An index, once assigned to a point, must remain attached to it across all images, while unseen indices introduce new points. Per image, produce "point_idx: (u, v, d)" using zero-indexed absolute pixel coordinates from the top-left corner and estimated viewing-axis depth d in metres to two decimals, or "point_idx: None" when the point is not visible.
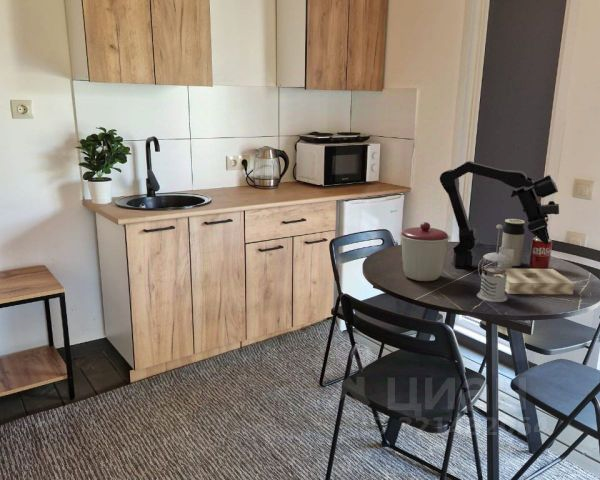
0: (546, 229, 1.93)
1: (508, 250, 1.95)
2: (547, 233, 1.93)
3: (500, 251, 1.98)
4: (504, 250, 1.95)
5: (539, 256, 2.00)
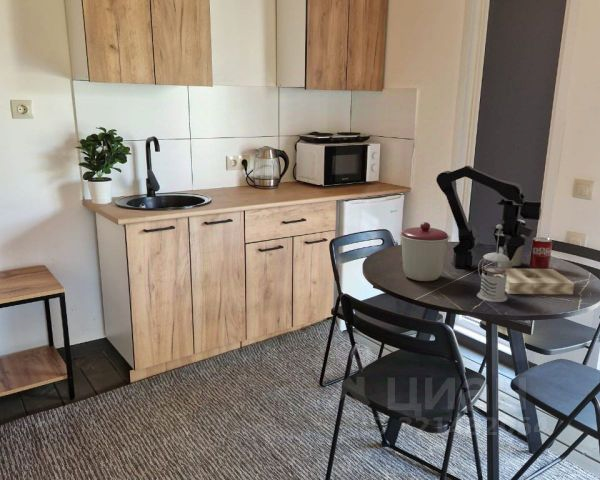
0: (504, 244, 2.01)
1: None
2: None
3: (500, 251, 1.98)
4: (504, 250, 1.95)
5: (539, 256, 2.00)
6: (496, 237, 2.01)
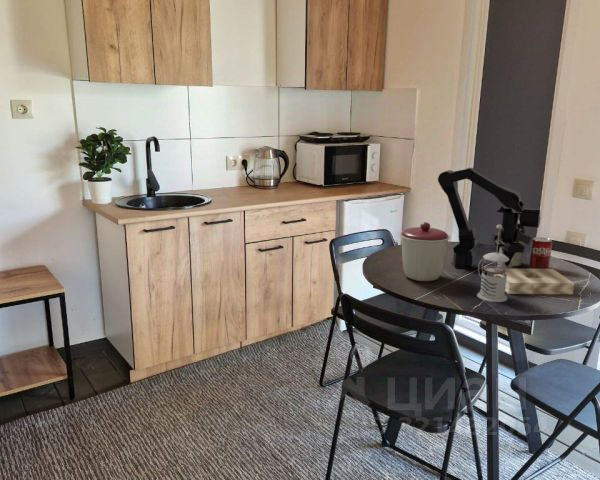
0: None
1: None
2: None
3: (500, 251, 1.97)
4: None
5: (539, 256, 2.00)
6: (498, 246, 1.99)
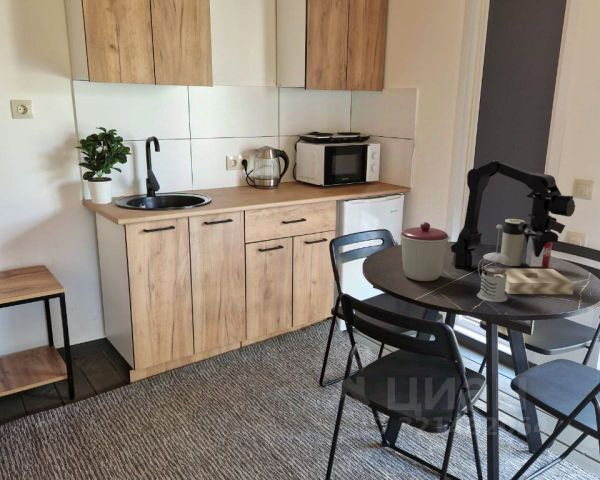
0: None
1: None
2: None
3: (530, 241, 1.81)
4: None
5: None
6: (527, 235, 1.83)
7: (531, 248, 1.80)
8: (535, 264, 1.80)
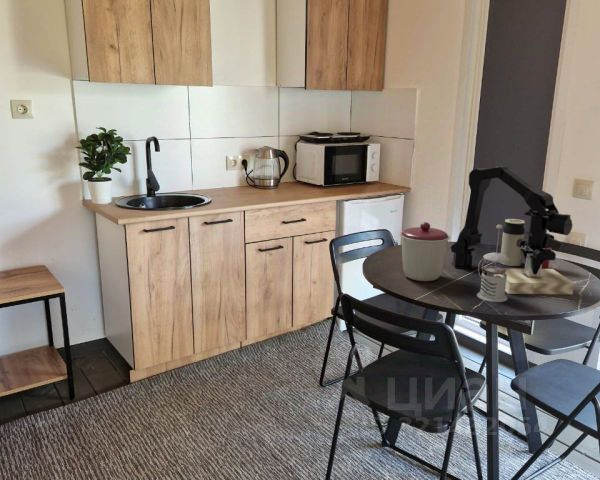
0: None
1: None
2: None
3: (527, 258, 1.83)
4: None
5: None
6: (525, 252, 1.84)
7: (529, 265, 1.81)
8: None
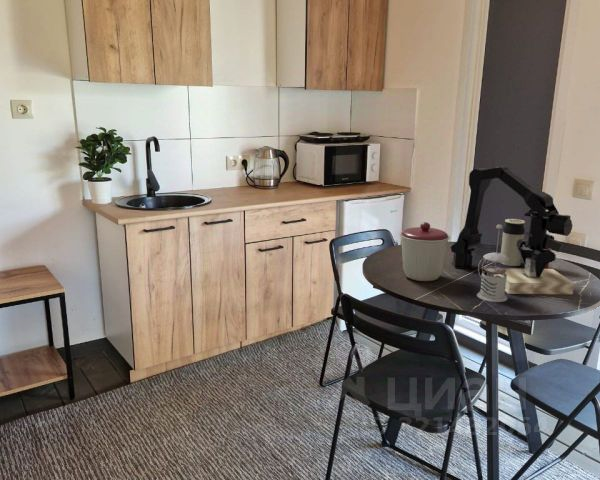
0: None
1: None
2: None
3: (527, 263, 1.83)
4: (532, 262, 1.80)
5: None
6: (522, 251, 1.87)
7: (528, 270, 1.82)
8: None
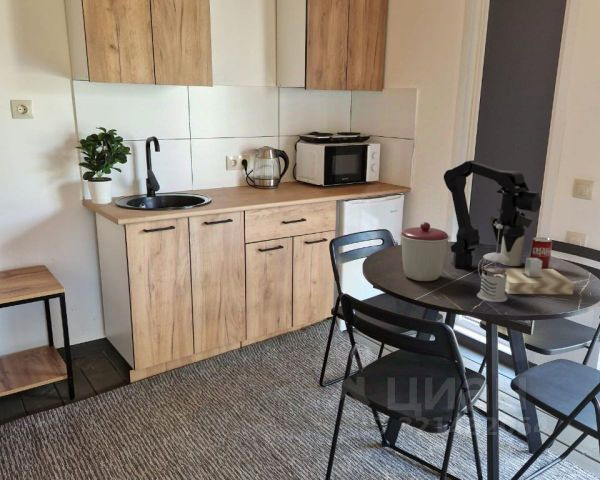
0: (502, 235, 1.94)
1: (536, 262, 1.80)
2: (501, 239, 1.94)
3: (527, 263, 1.83)
4: (532, 262, 1.80)
5: (539, 256, 2.00)
6: (494, 228, 1.93)
7: (528, 270, 1.82)
8: None
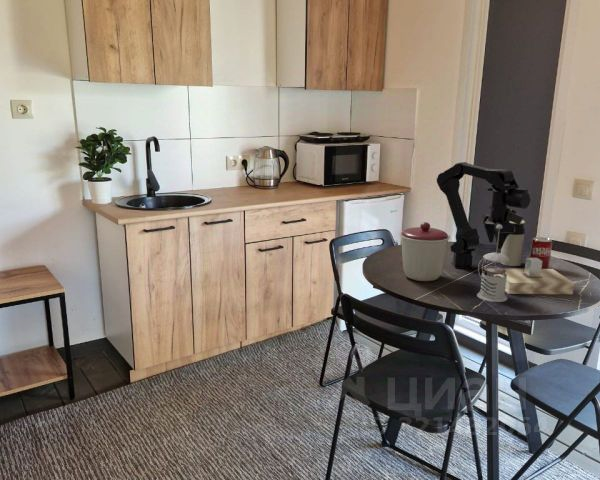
0: (494, 233, 1.96)
1: (536, 262, 1.80)
2: (493, 237, 1.96)
3: (527, 263, 1.83)
4: (532, 262, 1.80)
5: (539, 256, 2.00)
6: (486, 225, 1.96)
7: (528, 270, 1.82)
8: None
